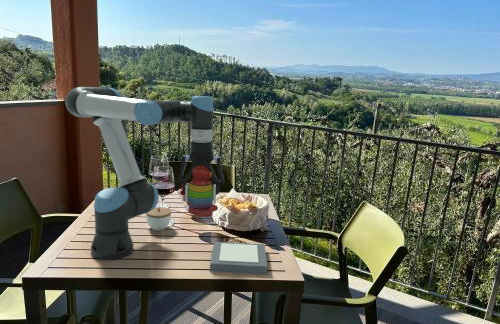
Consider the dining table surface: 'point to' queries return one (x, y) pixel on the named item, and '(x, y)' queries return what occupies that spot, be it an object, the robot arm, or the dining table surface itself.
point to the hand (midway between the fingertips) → (200, 202)
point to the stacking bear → (201, 193)
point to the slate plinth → (238, 258)
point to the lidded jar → (158, 218)
